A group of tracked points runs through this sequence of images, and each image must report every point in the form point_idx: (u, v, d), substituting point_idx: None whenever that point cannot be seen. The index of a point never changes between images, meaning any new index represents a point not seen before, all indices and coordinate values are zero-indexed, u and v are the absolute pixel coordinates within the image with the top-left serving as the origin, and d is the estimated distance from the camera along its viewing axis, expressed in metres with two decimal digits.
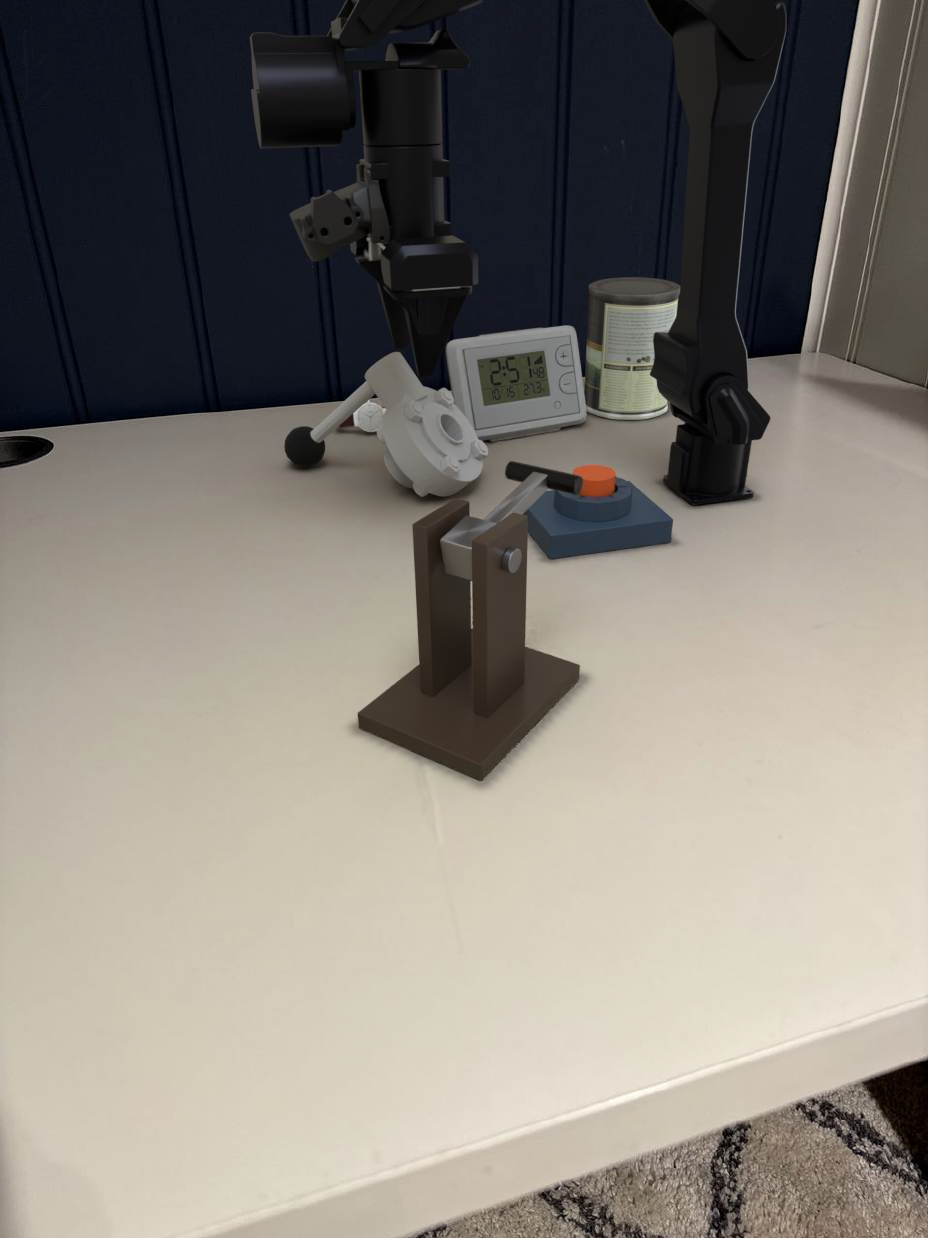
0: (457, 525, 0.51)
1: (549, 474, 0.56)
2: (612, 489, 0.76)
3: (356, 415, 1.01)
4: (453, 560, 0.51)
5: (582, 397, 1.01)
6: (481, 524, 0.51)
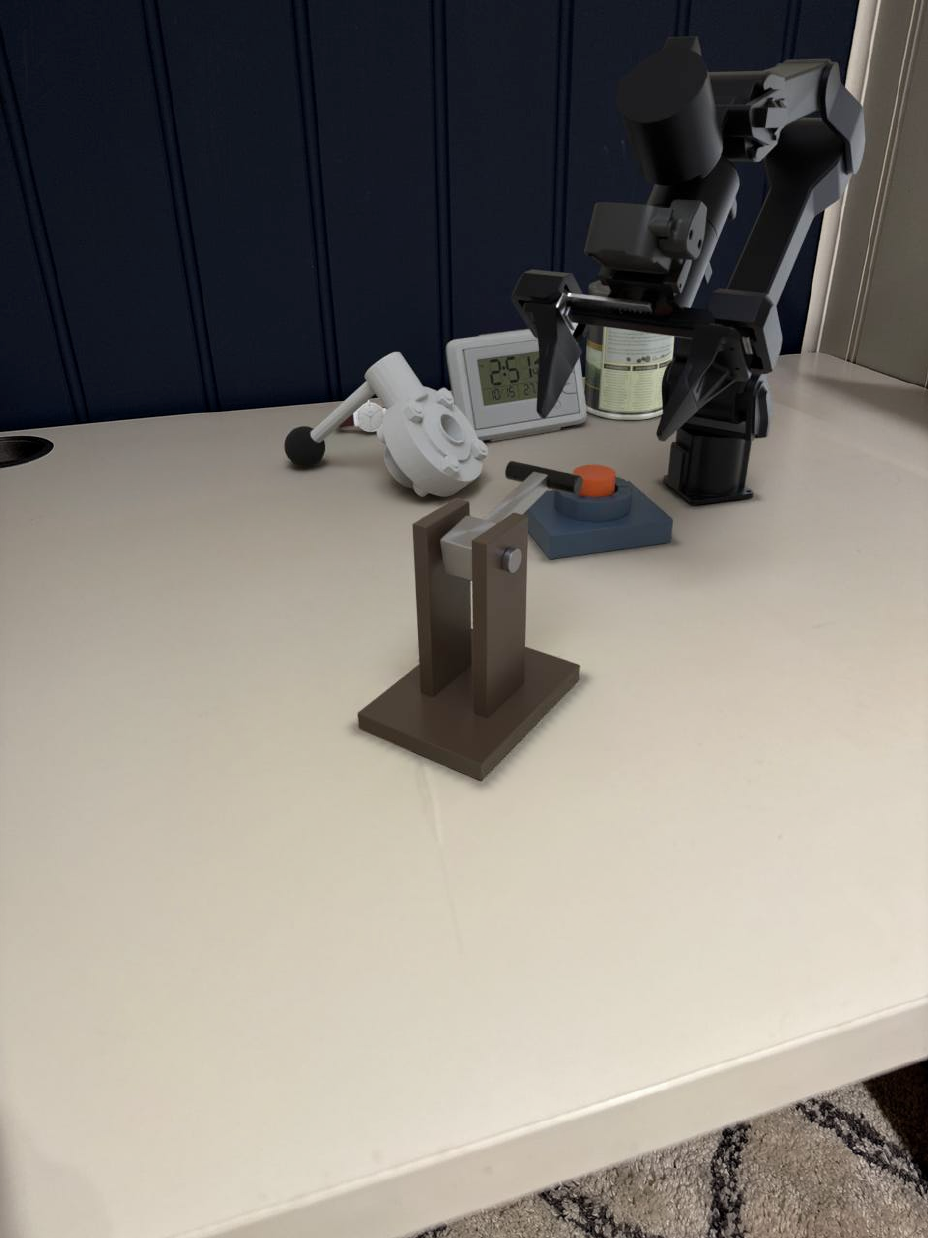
0: (457, 525, 0.51)
1: (549, 474, 0.56)
2: (612, 489, 0.76)
3: (356, 415, 1.01)
4: (453, 560, 0.51)
5: (582, 397, 1.01)
6: (481, 524, 0.51)
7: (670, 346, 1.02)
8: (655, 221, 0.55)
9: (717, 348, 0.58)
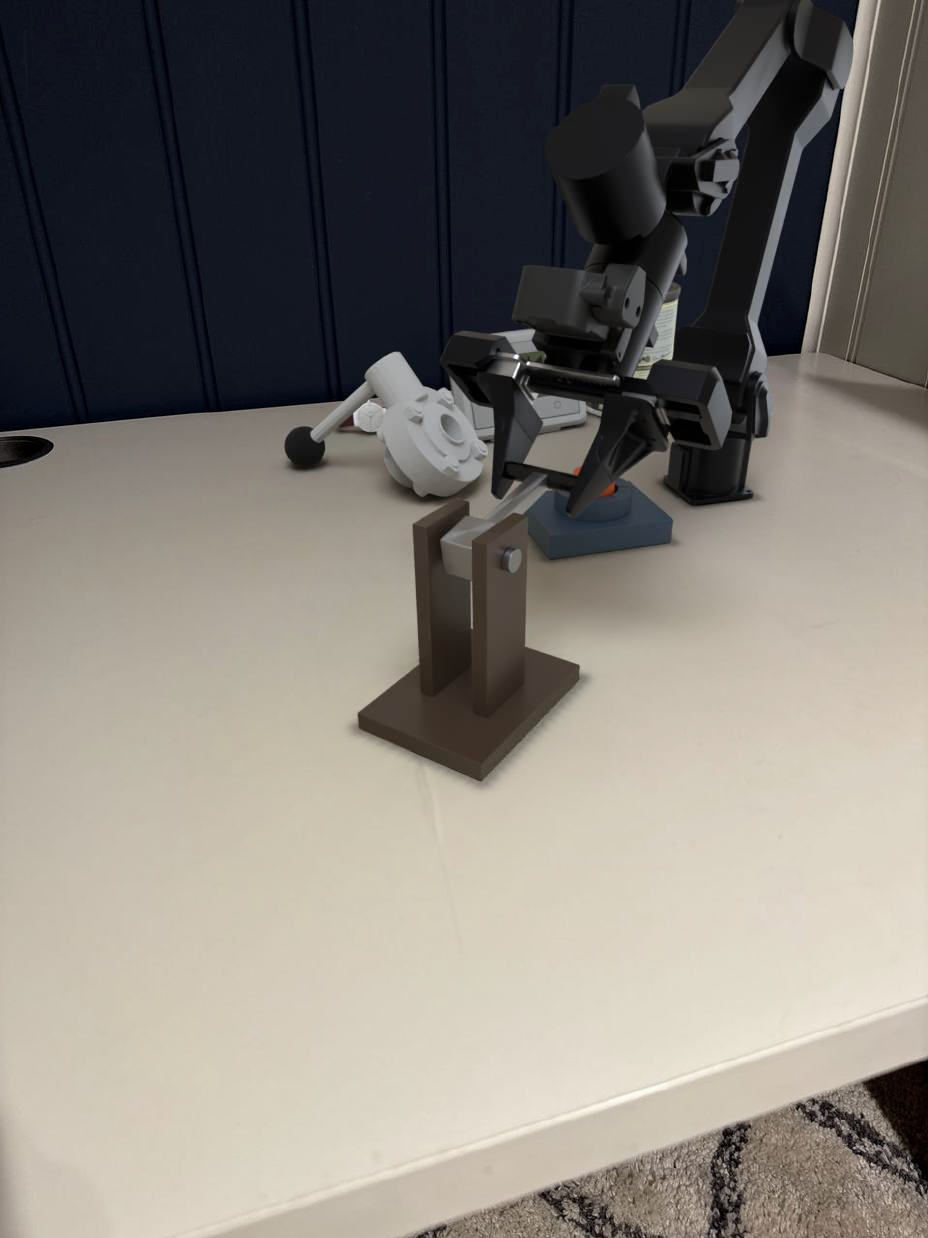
0: (457, 525, 0.51)
1: (549, 474, 0.56)
2: (612, 489, 0.76)
3: (356, 415, 1.01)
4: (453, 560, 0.51)
5: None
6: (481, 524, 0.51)
7: (670, 346, 1.02)
8: (587, 288, 0.50)
9: (628, 420, 0.53)
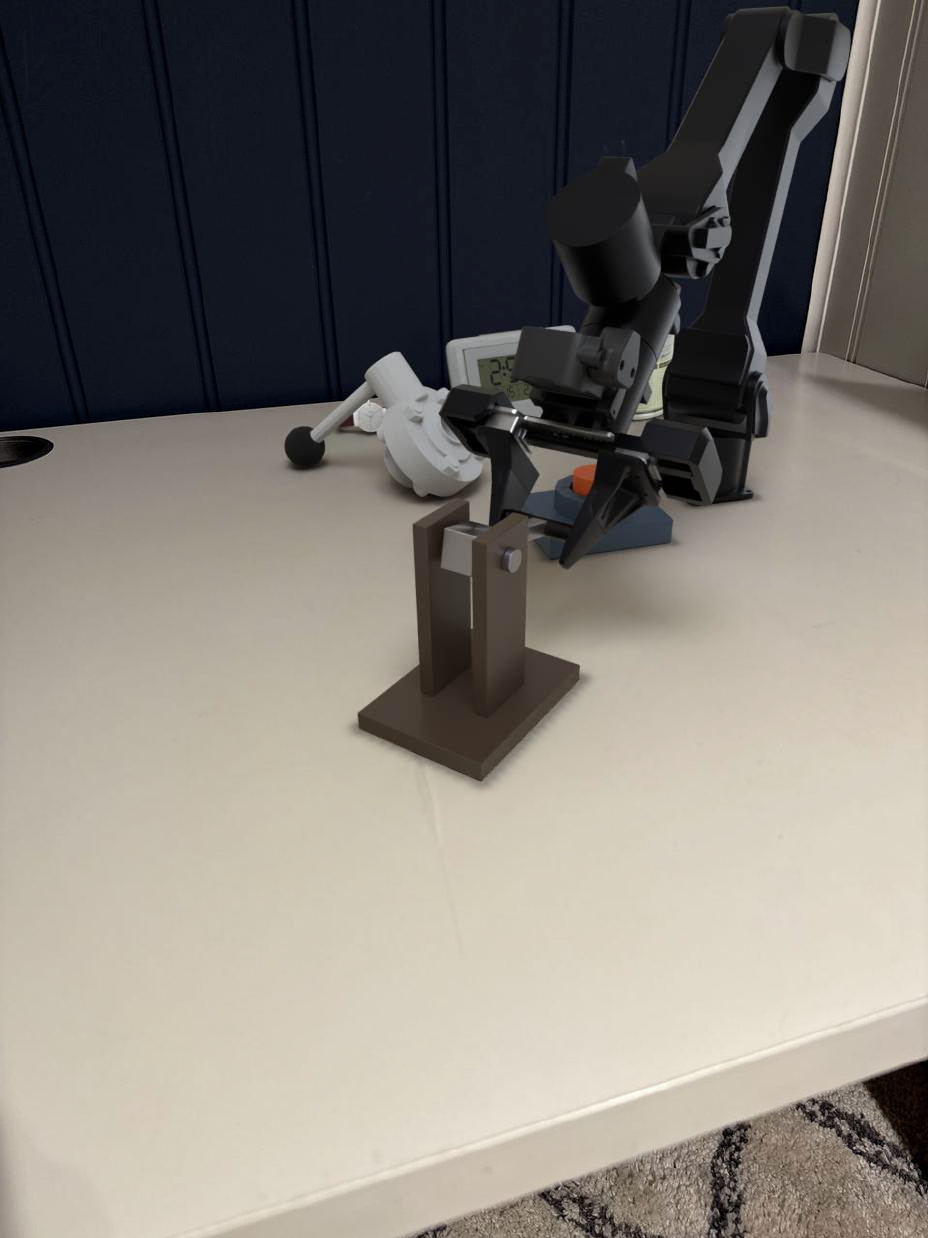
0: (462, 524, 0.52)
1: (548, 520, 0.58)
2: None
3: (356, 415, 1.01)
4: (453, 551, 0.51)
5: None
6: (485, 527, 0.52)
7: (670, 346, 1.02)
8: (584, 350, 0.52)
9: (621, 476, 0.55)
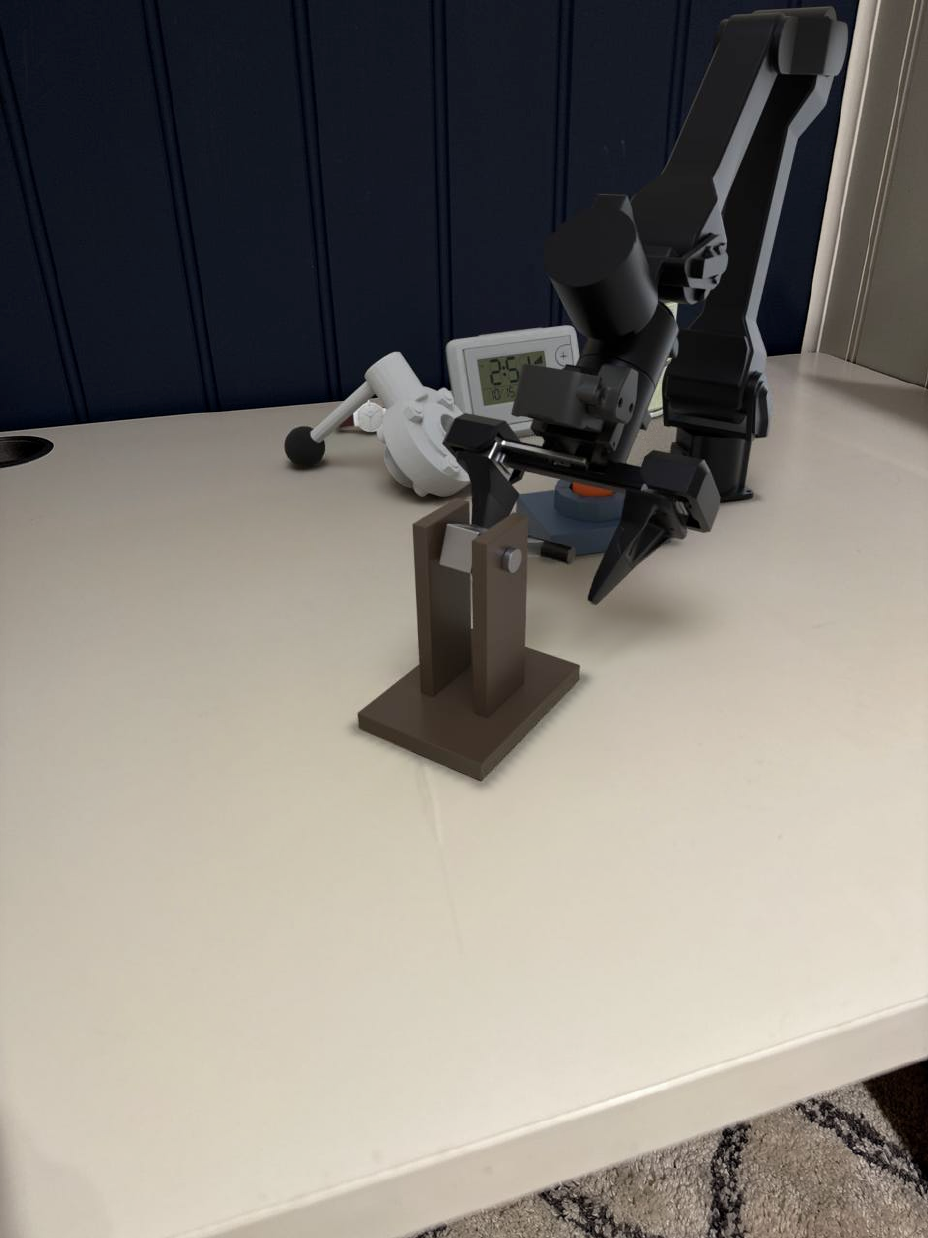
0: (463, 524, 0.52)
1: (545, 541, 0.58)
2: None
3: (356, 415, 1.01)
4: (454, 547, 0.50)
5: None
6: (487, 529, 0.52)
7: None
8: (583, 389, 0.53)
9: (649, 514, 0.55)
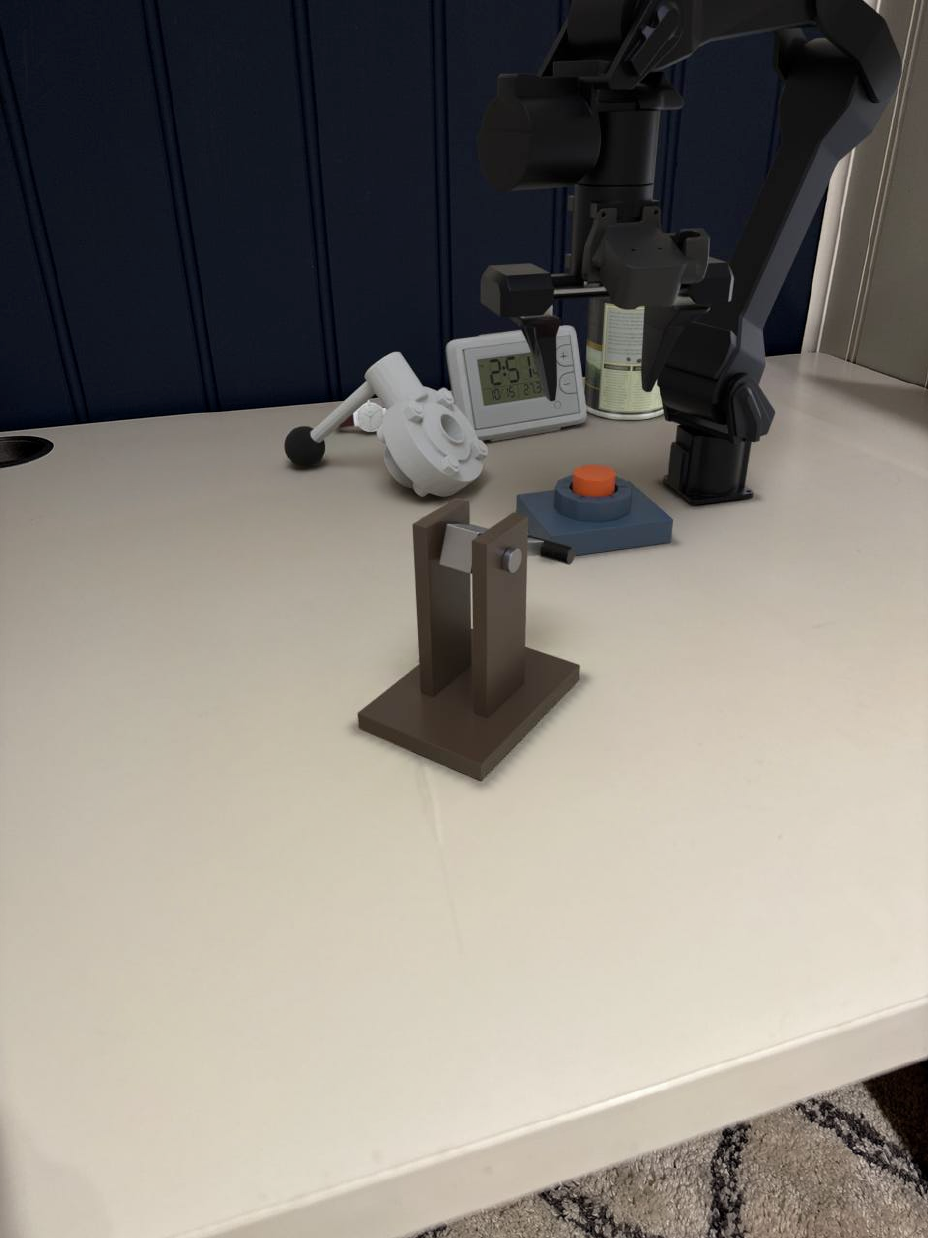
0: (463, 524, 0.52)
1: (545, 541, 0.58)
2: (612, 489, 0.76)
3: (356, 415, 1.01)
4: (454, 547, 0.50)
5: (582, 397, 1.01)
6: (487, 529, 0.52)
7: None
8: (686, 276, 0.61)
9: (691, 320, 0.70)
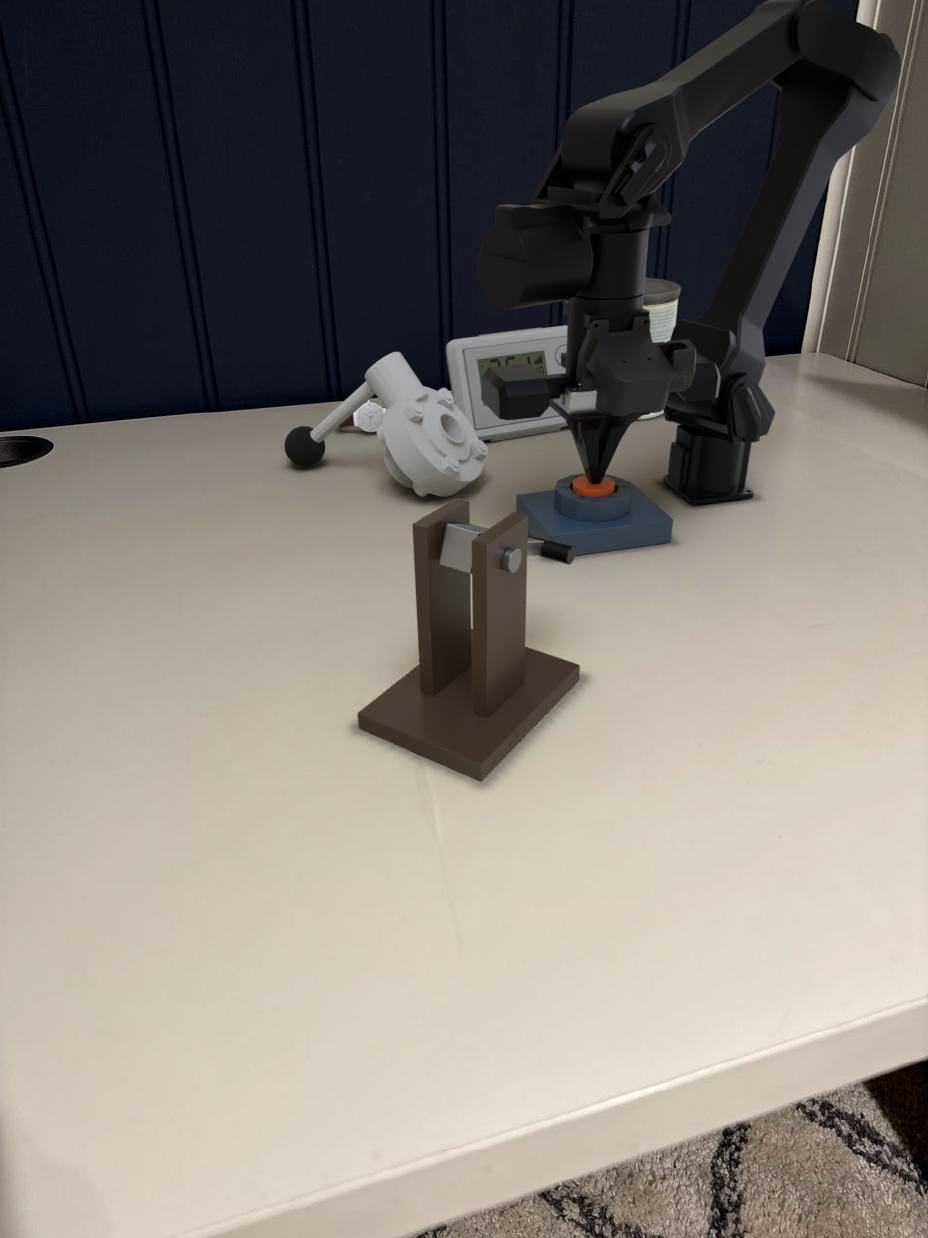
0: (463, 524, 0.52)
1: (545, 541, 0.58)
2: None
3: (356, 415, 1.01)
4: (454, 547, 0.50)
5: None
6: (487, 529, 0.52)
7: None
8: (674, 385, 0.65)
9: (635, 420, 0.73)
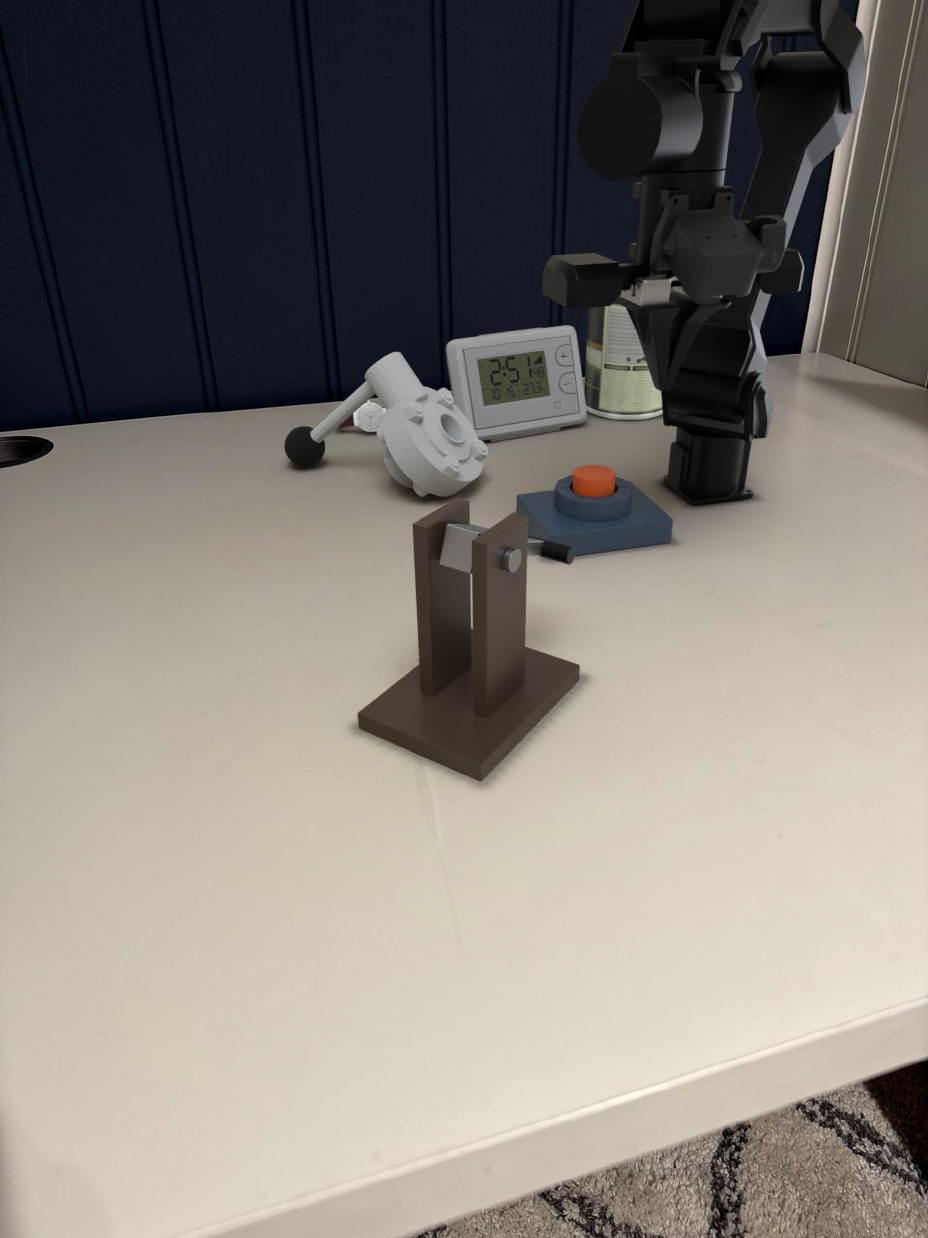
0: (463, 524, 0.52)
1: (545, 541, 0.58)
2: (612, 489, 0.76)
3: (356, 415, 1.01)
4: (454, 547, 0.50)
5: (582, 397, 1.01)
6: (487, 529, 0.52)
7: None
8: (762, 264, 0.59)
9: (711, 315, 0.67)
